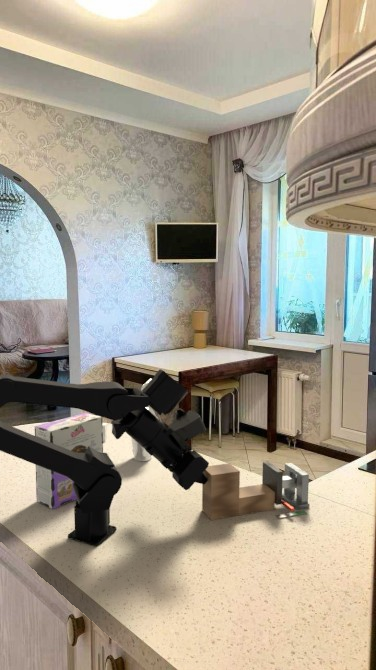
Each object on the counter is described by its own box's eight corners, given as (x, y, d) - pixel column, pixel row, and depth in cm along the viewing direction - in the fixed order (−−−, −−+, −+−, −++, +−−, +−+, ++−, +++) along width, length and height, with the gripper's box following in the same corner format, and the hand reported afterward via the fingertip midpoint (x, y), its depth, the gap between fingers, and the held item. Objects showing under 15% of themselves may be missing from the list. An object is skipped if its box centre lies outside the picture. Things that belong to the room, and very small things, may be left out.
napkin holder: (54, 441, 144) (54, 422, 143) (85, 432, 153) (84, 414, 152) (89, 453, 135) (89, 432, 134) (120, 442, 144) (119, 423, 143)
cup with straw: (119, 457, 130) (118, 381, 128) (147, 449, 136) (146, 377, 134) (139, 466, 124) (139, 387, 122) (167, 458, 130) (167, 382, 128)
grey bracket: (285, 512, 98) (286, 478, 97) (262, 492, 107) (262, 462, 106) (322, 505, 101) (323, 473, 100) (296, 487, 109) (297, 457, 109)
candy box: (87, 481, 115) (86, 411, 113) (104, 488, 111) (103, 415, 109) (35, 501, 104) (33, 424, 103) (52, 510, 101) (50, 430, 99)
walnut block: (210, 520, 97) (211, 475, 96) (202, 509, 101) (202, 466, 100) (274, 508, 102) (275, 466, 101) (263, 499, 106) (264, 458, 105)
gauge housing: (278, 518, 98) (279, 485, 97) (253, 497, 107) (254, 466, 106) (315, 512, 101) (316, 479, 100) (288, 491, 110) (289, 461, 109)
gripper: (197, 412, 86) (254, 466, 91) (164, 389, 103) (213, 436, 108) (153, 463, 84) (214, 515, 89) (127, 431, 101) (179, 476, 106)
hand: (205, 481), depth 98 cm, fingers closed, pressing on walnut block
